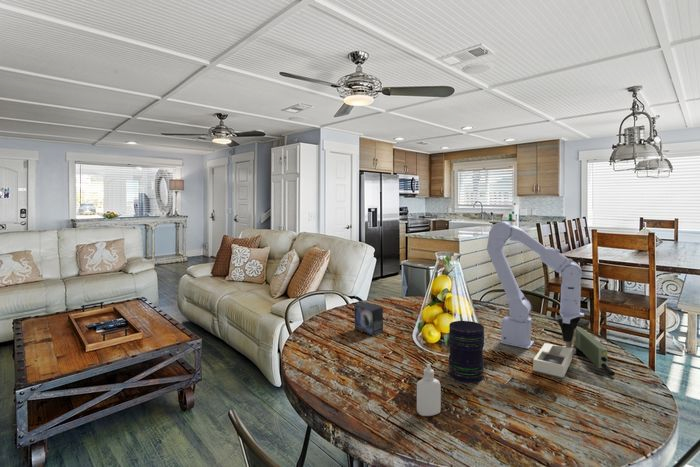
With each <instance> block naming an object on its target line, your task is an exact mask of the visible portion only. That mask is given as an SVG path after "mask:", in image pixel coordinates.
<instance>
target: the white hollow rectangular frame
mask: <svg viewBox="0 0 700 467" xmlns="http://www.w3.org/2000/svg"><path fill="white" fill-rule="evenodd" d="M563 346H564V345H557V344H553V343H547V342H544V344H543V345H542V346H541V348H540V350H539V351H538V352H537V354H536V355H535V356H534V358H533V359H532V360H533V362H532V371H533V372H535V373H539V374H543V375H547V376H550V377H554V378H559V379H563V380H565V377H566V374H567V372H568V369H569V368H570V365H571V364H572V362H573V355H574V354H573V348H568V347H563Z"/></svg>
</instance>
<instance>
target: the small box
mask: <svg viewBox="0 0 700 467" xmlns="http://www.w3.org/2000/svg"><path fill="white" fill-rule="evenodd" d="M353 307H354V309H353V310H354V312H353V314H354V317H353V318H354V330H355V329H356V330H355V331H357V330H359V331H358V332H360V331H362V332H365V333H367V334H366V335H368V334H370V335H375V336H377V335H376V334H378V333H381V332H383V333H384V307H383V306H381V305H377V304H374V303H370V302H368V301H367V302H366V301H363V302H360V303H357V304H354V305H353ZM362 332H361V333H362ZM365 333H364V334H365ZM381 334H382V333H381ZM370 335H369V336H370ZM378 335H379V334H378Z"/></svg>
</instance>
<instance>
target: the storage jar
mask: <svg viewBox="0 0 700 467" xmlns="http://www.w3.org/2000/svg"><path fill="white" fill-rule="evenodd" d="M484 331H485V326H484V325H482V324H480V323H478V322H475V321H470V320H455V321H452V322H450V323H449V331H448V343H449V355H448V370H449V371H448V375H450V376H449V377H450V378H451V379H452V378H453V379H452V380H453V381H457V382H459V383H462V384H470V383H472V384H478V383H481V382H482V381H483V380H484V370H485V365H484V364H485V361H484V360H485V359H484V355H483V354H484V347H485V332H484ZM480 381H481V382H480Z"/></svg>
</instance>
